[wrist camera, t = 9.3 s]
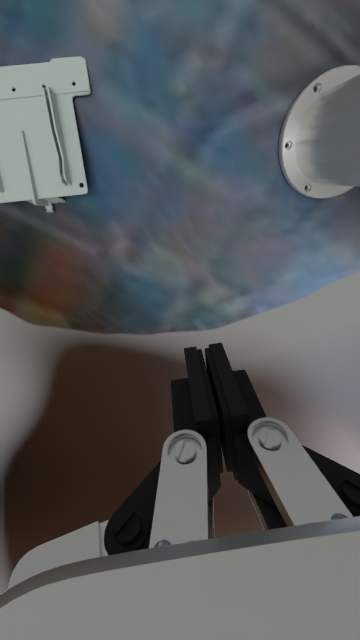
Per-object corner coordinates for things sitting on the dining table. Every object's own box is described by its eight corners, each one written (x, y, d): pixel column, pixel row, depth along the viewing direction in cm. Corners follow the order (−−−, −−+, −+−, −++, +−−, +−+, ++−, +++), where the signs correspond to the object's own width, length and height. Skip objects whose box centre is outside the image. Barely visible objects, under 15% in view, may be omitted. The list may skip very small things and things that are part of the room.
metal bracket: (103, 195, 28) (-44, 211, 27) (114, 207, 33) (-7, 220, 33) (77, 28, 25) (-89, 44, 24) (93, 72, 30) (-41, 85, 30)
